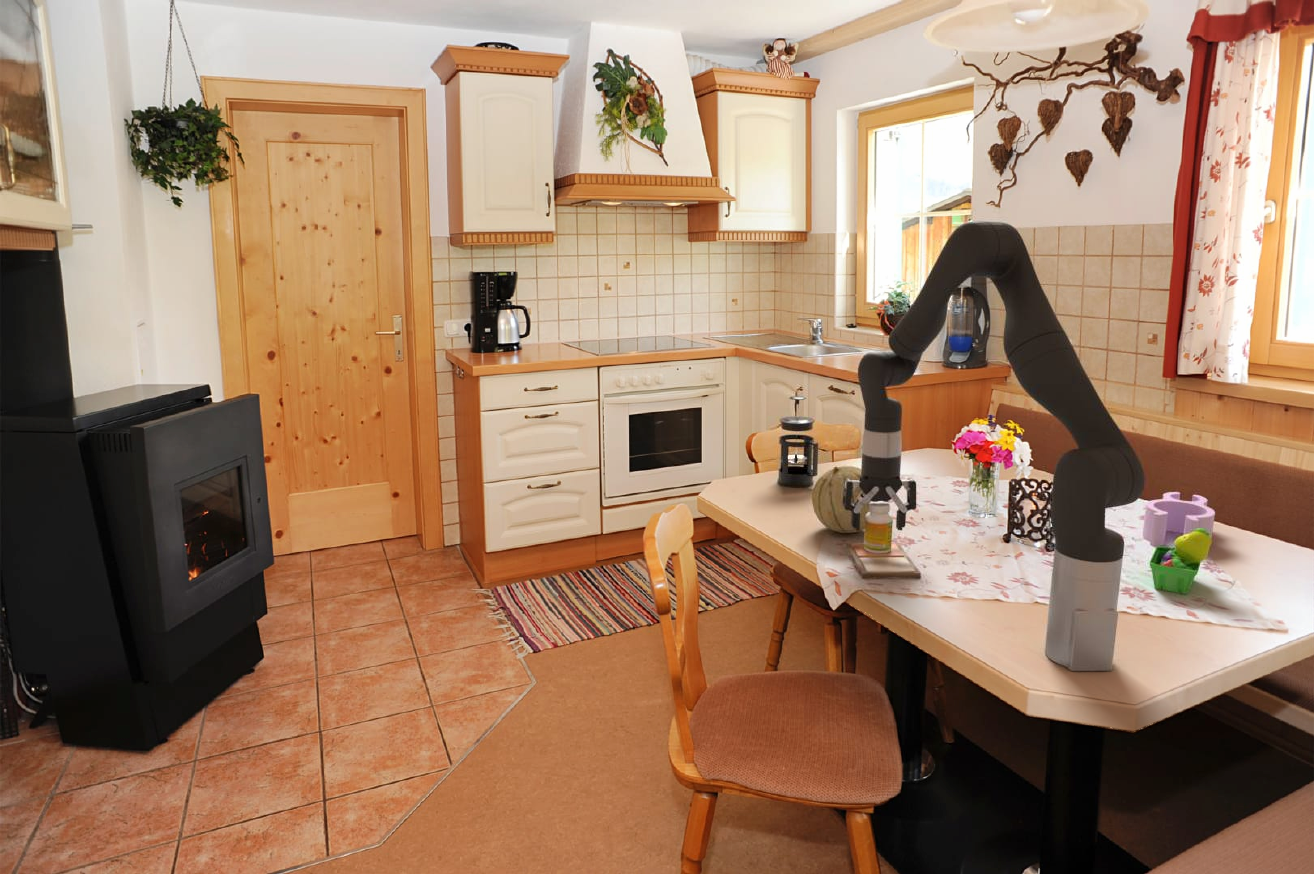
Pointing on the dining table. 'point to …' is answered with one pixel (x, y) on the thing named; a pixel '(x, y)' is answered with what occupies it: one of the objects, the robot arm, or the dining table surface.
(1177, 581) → the fruit basket
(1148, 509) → the clip
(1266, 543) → the dining table surface
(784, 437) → the french press
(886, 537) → the supplement bottle
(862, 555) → the makeup palette
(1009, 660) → the dining table surface
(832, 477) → the cantaloupe
